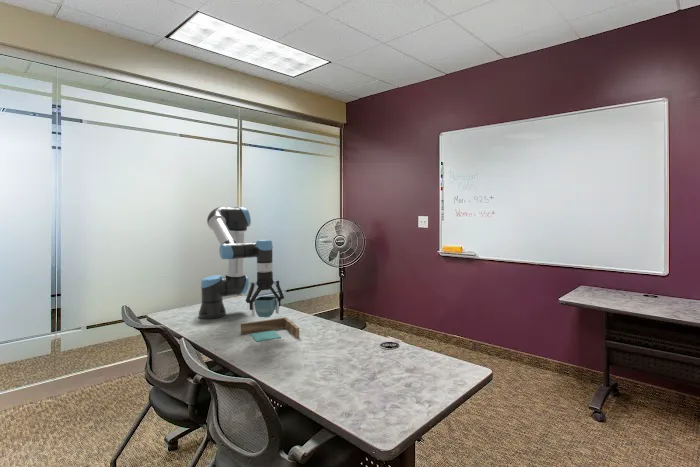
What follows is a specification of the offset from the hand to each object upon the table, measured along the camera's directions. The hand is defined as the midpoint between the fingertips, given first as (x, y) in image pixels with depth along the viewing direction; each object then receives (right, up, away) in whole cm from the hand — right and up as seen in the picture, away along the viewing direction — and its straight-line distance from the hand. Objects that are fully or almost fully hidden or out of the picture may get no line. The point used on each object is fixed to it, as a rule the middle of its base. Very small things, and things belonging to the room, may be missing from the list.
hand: (265, 314), depth 181 cm
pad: (0, -11, +1) cm, 11 cm away
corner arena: (+2, -11, +2) cm, 11 cm away
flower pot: (0, -1, 0) cm, 1 cm away
